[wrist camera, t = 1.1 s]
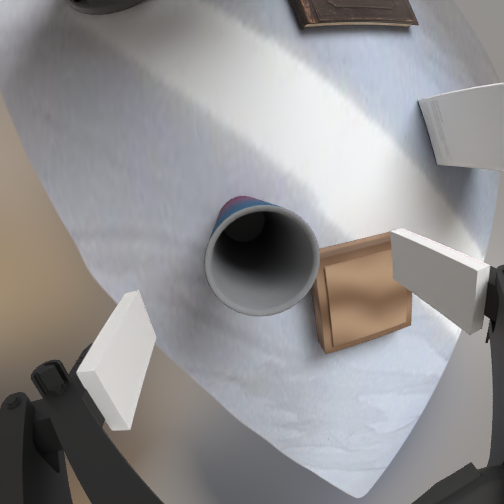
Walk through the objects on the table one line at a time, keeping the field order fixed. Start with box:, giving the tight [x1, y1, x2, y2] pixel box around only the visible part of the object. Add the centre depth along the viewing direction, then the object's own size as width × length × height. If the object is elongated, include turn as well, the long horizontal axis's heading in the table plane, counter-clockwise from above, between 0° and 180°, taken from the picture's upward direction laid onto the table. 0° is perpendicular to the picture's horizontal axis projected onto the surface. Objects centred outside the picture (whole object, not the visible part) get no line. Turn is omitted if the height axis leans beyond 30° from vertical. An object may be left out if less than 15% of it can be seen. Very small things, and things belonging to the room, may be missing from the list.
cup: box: [204, 196, 320, 316], centre depth 25 cm, size 7×7×15 cm
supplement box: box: [418, 83, 504, 171], centre depth 24 cm, size 9×9×15 cm
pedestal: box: [311, 232, 412, 354], centre depth 34 cm, size 12×12×3 cm
